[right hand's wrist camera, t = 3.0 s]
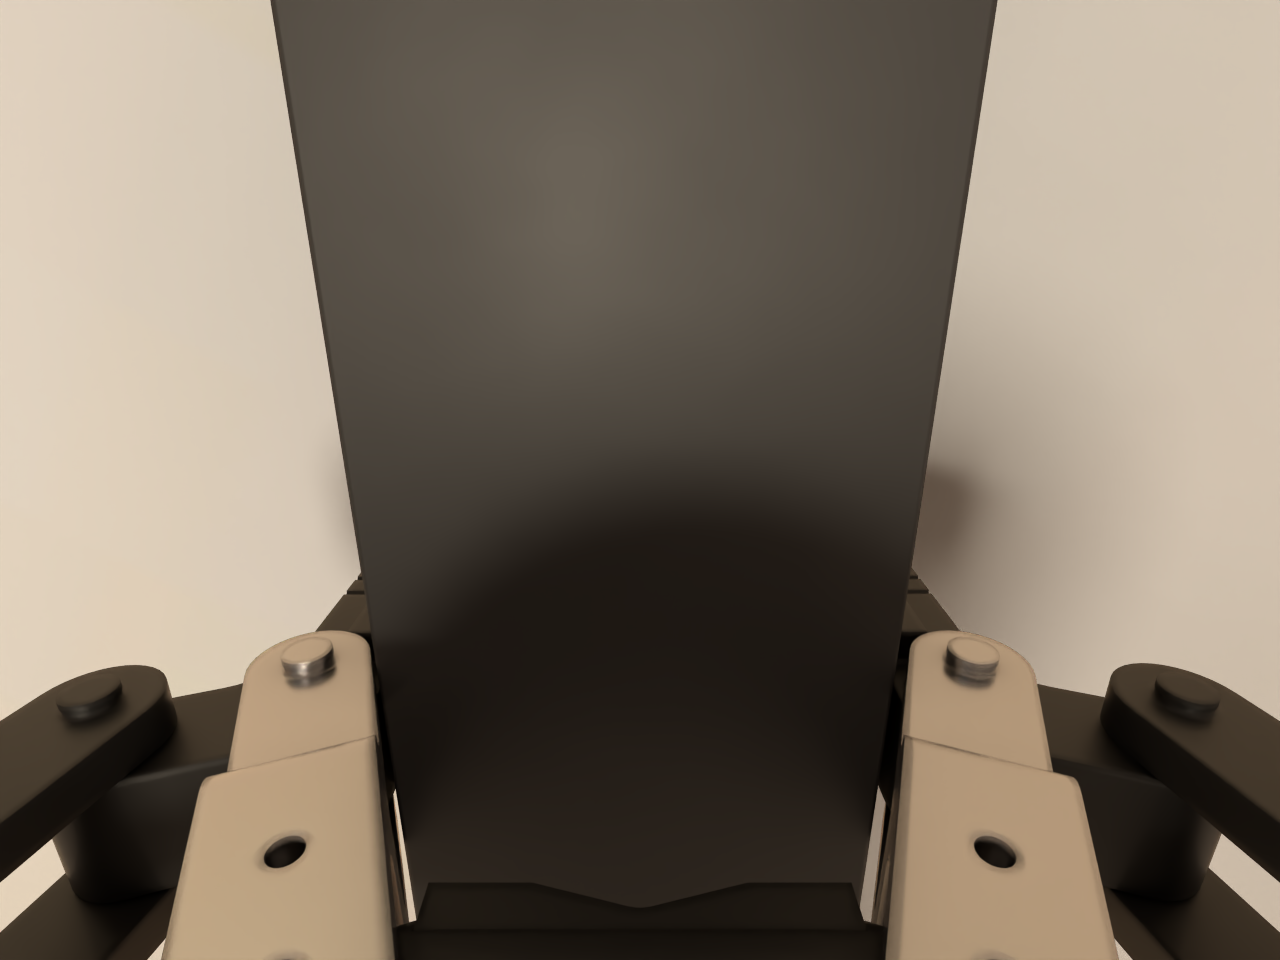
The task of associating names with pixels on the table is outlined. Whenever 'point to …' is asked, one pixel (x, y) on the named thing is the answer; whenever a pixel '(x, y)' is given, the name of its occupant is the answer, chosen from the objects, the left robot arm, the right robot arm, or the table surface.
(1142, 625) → the table surface
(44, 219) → the table surface
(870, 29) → the bar
